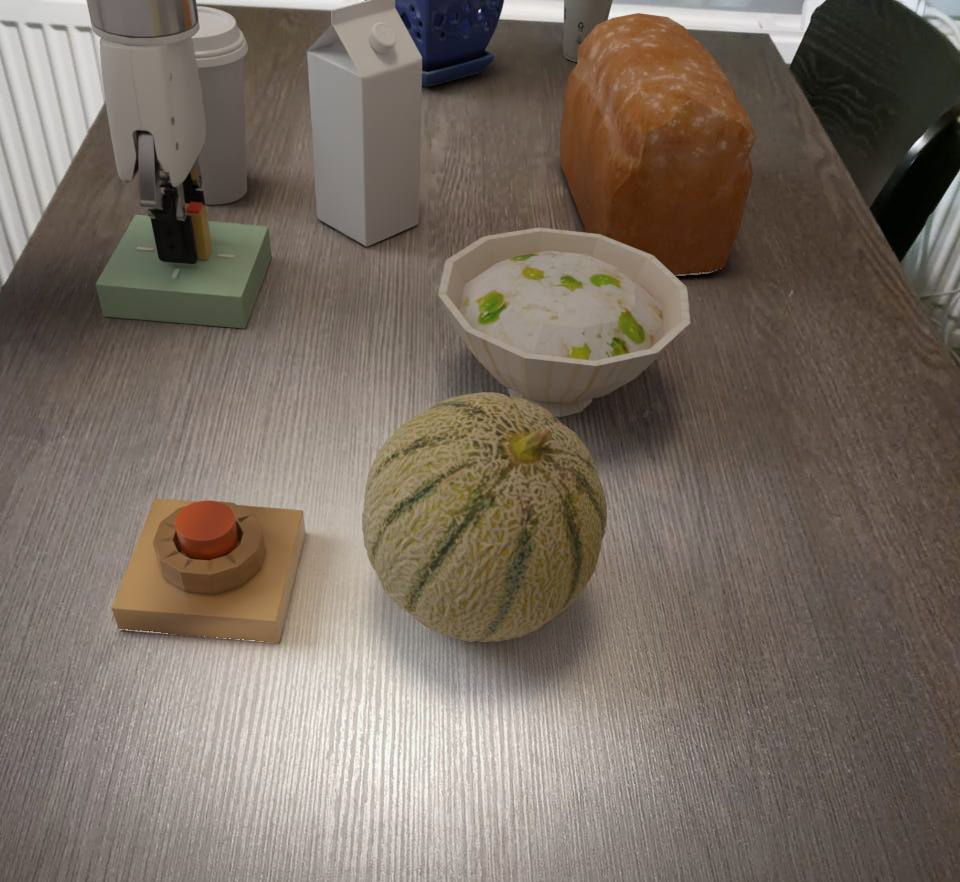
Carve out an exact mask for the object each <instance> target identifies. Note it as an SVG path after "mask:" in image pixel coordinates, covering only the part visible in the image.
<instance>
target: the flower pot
mask: <svg viewBox="0 0 960 882" xmlns="http://www.w3.org/2000/svg"><path fill="white" fill-rule="evenodd" d="M364 1H366V0H364ZM504 4H505V0H395V8H396V10H397V12H398V14H399V16H400V18H401V19H402V21H403V23H404V25H405V27H406V29H407V30H408V32H409V34H410V36H411V38H412V40H413V41H414V43H415V45H416V47H417V49H418V51H419V53H420V54H421V56H422V87H425V86H426V87H427V88H429V86H431V87H433V86H437V85H440V84H444V83H449V82H453V81H455V80H460V79H463V78H466V77H470V76H474V75H473V74H476V75H478V74H479V73H480V74H481V72H483V71H485V70H486V69H487V68H488V67H489V66H490V65H491V64H492V63H493V61H494V59H495V55H494V53H492V52H490V51H488V50H486V49H487V47H488V46H489V44H490V42H491V40H492V38H493V37H494V34H495V32H496V29H497V26H498V24H499V21H500V18H501V15H502V11H503V8H504ZM477 73H478V74H477Z"/></svg>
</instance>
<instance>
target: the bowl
mask: <svg viewBox="0 0 960 882" xmlns="http://www.w3.org/2000/svg"><path fill="white" fill-rule="evenodd" d="M443 266H444V267H443V271H442V274H441V280H440V283H439V288H438V293H437V296H438V298H439V300H440V303H441V304H442V306H443V308H444V310H445V312H446V314H447V316H448V318H449V321H450V322H451V324H452V326H453V329H454V331H455V332H456V333H457V335H458V336H459V337H460V338H461V340H462V341H463V342H464V343H465V344H466V346H467V348H468V350H469V351H470V352H471V353H472V354H473V355H474V357H475V358H476V360H477V361H478V362H479V363H480V364H481V365H482V366H483V367H484V368H485V369H486V370H487V371H488V373H489V374H490V375H491V376H492V377H493V378H494V379H495V380H496V381H497V382H498V383H499V384H500V385H501V386H504V387H506V388H507V393H508V394H509V396H513V397H516V398H520V399H525V400H527V401H529V402H531V403H534V404H536V405H539V406H541V407H543V408H544V409H546V410H548V411H549V412H550V413H551V414H552V415H553V416H554V417H555V418H562V417H567V416H571V415H575V414H578V413H581V412H583V410H585V409H586V408H587V407H588V406H589V405H590V404H591V403H593V399H598V398H600V397H605V396H608V395H609V394H611V393H612V392H614V391H616V390H618V389H619V388H621V387H623V386H625V385H626V384H629V383H630V382H632V381H633V380H636V379H637V378H638V377H639V376H640V375H641V374H642V373H643V372H644V371H645V370H646V369H648V368H649V366H651V365H652V364H653V363H654V362H655V361H656V360H657V359H658V358H660V357H661V355H663V354H664V352H665V351H667V349H668V348H669V347H670V346H671V345H672V344H673V343H674V342H675V340H676V339H678V337H679V336H680V335H681V334H682V333H683V332H684V331H685V330H686V329H687V327H688V326H689V325H690V324H691V316H690V315H691V314H690V304H689V291H688V287H687V285H685V284H684V282H682V281H681V280H680V279H679V277H676V276H675V275H673V274H672V273H671V272H670V271H669V270H668V269H667V268H666V267H665V266H664V265H663V264H662V263H661V262H660V261H659V260H658V259H657V258H655V257H654V256H653V255H651V254H648V253H646V252H643V251H641V250H638V249H636V248H633V247H631V246H628V245H626V244H623V243H621V242H618V241H616V240H613V239H610V238H608V237H605V236H603V235H600V234H593V233H586V232H585V231H575V230H565V229H555V228H547V227H540V226H539V227H538V226H537V227H534V228H527V229H526V228H525V229H521V230H520V229H519V230H514V231H510V232H509V231H508V232H502V233H495V234H489V235H485V236H482V237H480V238H478V239H477V240H475V241H473V242H472V243H470V244H469V245H468V246H466V247H464V248H463V249H461V250H460V251H458V252H456V253H455V254H453V255H452V256H449V258H447V259H445V262H444V265H443Z"/></svg>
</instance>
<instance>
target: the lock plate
mask: <svg viewBox="0 0 960 882" xmlns="http://www.w3.org/2000/svg"><path fill="white" fill-rule="evenodd" d="M208 225H209V231H210V238H211V244H212V252H211V254H210V256H209V258H208V260H200V259H197V262H196V263H195V264H183V263H172V262H162V261H161V260H160V259H159V258H158V253H157V248H156V243H155V238H154V233H153V228H152V223H151V218H150V217H149V215H145V214H144V215H143V214H134V217H133V218H132V220H131V222H130V224H129V225H128V227H127V229H126V231H125V232H124V234H123V235H122V237H121V239H120V241H119V243H118V244H117V246H116V248H115V249H114V251H113V253H112V255H111V257H110V258H109V260H108V262H107V263H106V265H105V267H104V269H103V271H102V272H101V274H100V276H99V277H98V279H97V281H96V283H95V288H96V292H97V295H98V300H99V303H100V307H101V311H102V316H103V317H106V318H117V319H128V320H139V321H151V322H163V323H175V324H184V325H185V324H187V325H197V326H209V327H219V328H220V327H222V328H232V329H243V330H244V329H246V328H247V325H248V322H249V321H250V317H251V314H252V312H253V309H254V306H255V304H256V301H257V298H258V296H259V292H260V290H261V287H262V284H263V282H264V279H265V276H266V274H267V271H268V268H269V265H270V263H271V261H272V260H271V259H272V248H271V237H270V229H269V226H268V225H256V224H246V223H235V222H225V221H224V222H223V221H214V220H213V221H211V220H208Z"/></svg>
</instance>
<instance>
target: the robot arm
mask: <svg viewBox="0 0 960 882" xmlns="http://www.w3.org/2000/svg"><path fill="white" fill-rule="evenodd" d="M85 1H86V6H87V9H88V14H89V19H90V25H91V29H92V32H93V33H94V34H95V35H96V36H98V37H99V38H100V39H99V54H100V55H99V56H100V69H101V79H102V86H103V94H104V101H105V107H106V113H107V120H108V126H109V133H110V138H111V143H112V149H113V155H114V160H115V166H116V171H117V175H118V177H119V179H120V180H121V182H123V183H125V184H129V183H131V182H133V180H134V179H135V177H136V175H138V190H139V191H138V193H139V194H138V195H139V196H138V197H139V205H140V207H141V208H142V209H143V208H144V209H147V216H149V217H150V218H151V223H152V228H153V233H154V238H155V243H156V248H157V253H158V258H159V259H160V260H161V261H162V262H172V263H183V264H195V263H196V262H197V259H198V255H197V249H196V243H195V237H194V231H193V225H192V219H191V216H190V215H186V207H185V203H187V204H190V202H201V203H203V205H205V206H206V204H205V199H204V193H203V191H199V190H196V189H201V188H202V176H201V171H200V166H199V161H198V158H199V156H198V155H199V153H200V151H201V149H202V147H203V145H204V142H205V138H206V121H205V112H204V104H203V96H202V90H201V84H200V78H199V72H198V67H197V61H196V56H195V51H194V46H193V41H192V37H193V36H194V35H195V34H196V33H197V32H198V30H199V27H200V26H199V18H198V12H197V6H198V5H197V0H85ZM160 172H163V175H162V174H161V173H160ZM161 188H163V192H162V190H161Z"/></svg>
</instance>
